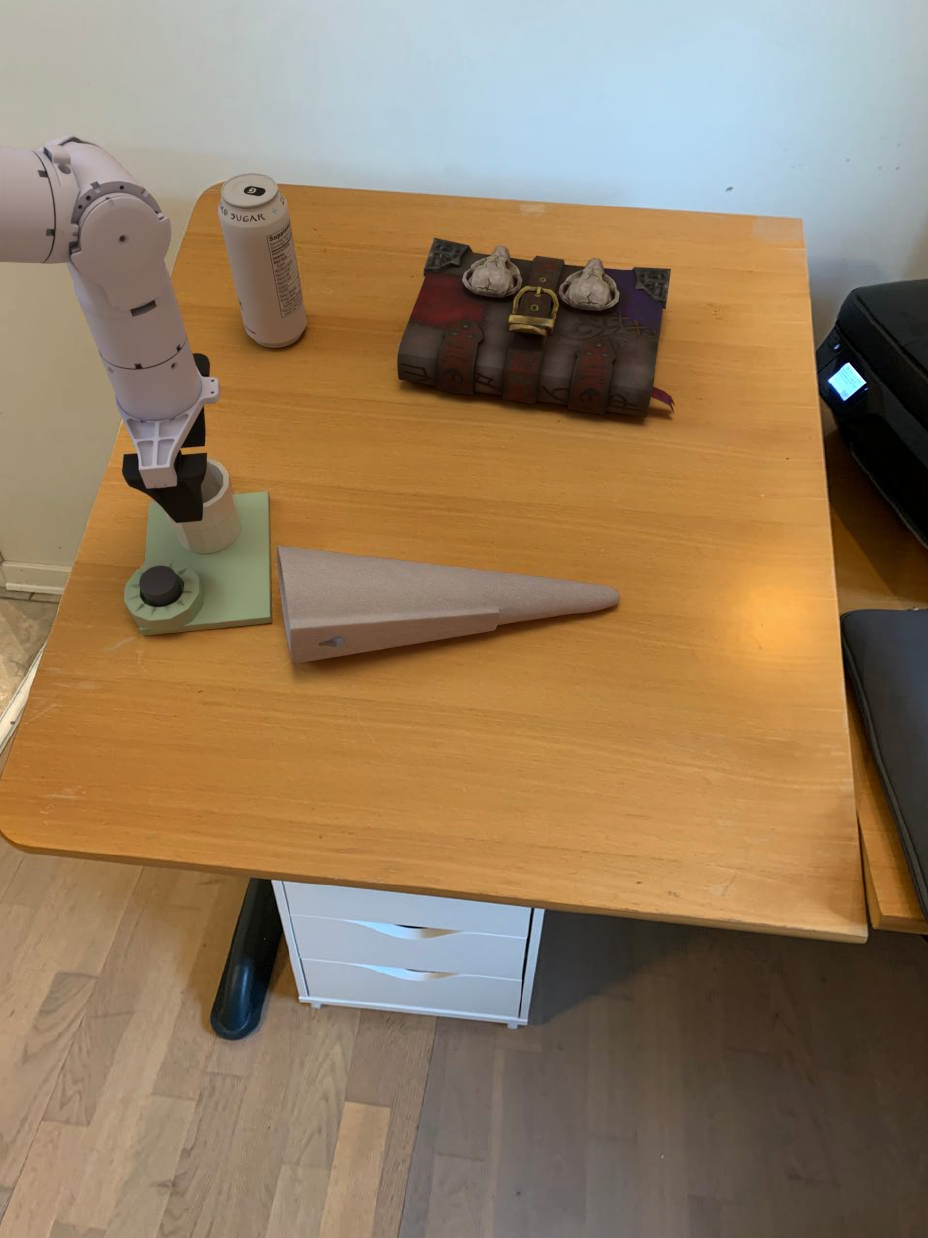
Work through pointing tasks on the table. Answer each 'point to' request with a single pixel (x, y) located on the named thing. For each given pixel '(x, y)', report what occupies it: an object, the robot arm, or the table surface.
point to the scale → (208, 575)
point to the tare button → (160, 585)
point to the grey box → (409, 601)
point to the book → (536, 330)
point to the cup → (212, 515)
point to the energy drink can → (262, 259)
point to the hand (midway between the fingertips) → (190, 480)
